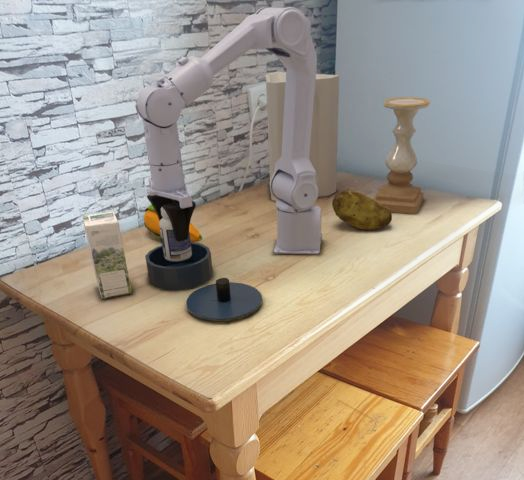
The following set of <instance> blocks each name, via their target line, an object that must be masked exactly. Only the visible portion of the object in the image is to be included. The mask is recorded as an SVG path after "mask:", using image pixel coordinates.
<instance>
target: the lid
mask: <svg viewBox="0 0 524 480" xmlns="http://www.w3.org/2000/svg"><path fill="white" fill-rule="evenodd" d="M262 303H263V296H262V293H261V291H260V290H259V289H257V288H256V287H254V286H252V285H249V284H247V283H243V282H233V281H230V279H229V278H228V277H219V278H217V279H216V280H215V283H212V284H208V285H204V286H201V287H199V288H198V289H196V290H193V292H192V293H190V294H189V295H188V297H187V298H186V301H185V305H186V309H187V311H188V312H189V313H190V314H191V315H193V316H194V317H197V318H199V319H202V320H206V321H213V322H214V321H215V322H216V321H217V322H219V321H220V322H223V321H232V320H237V319H242V318H244V317H247V316H249V315H251V314H252V313H254V312H256V311H257V310H258V309H259V308H260V307H261V305H262Z"/></svg>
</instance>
